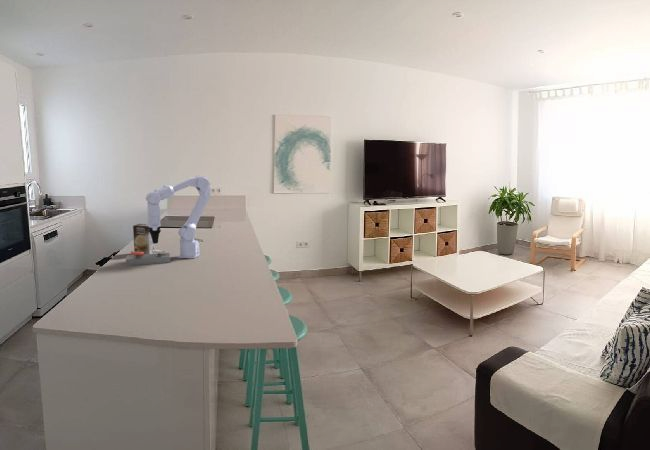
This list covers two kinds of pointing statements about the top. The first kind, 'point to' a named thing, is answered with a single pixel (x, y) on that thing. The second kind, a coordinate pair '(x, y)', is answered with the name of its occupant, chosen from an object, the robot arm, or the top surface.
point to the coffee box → (143, 239)
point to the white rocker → (158, 251)
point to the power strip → (147, 259)
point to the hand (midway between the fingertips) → (155, 242)
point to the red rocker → (137, 253)
